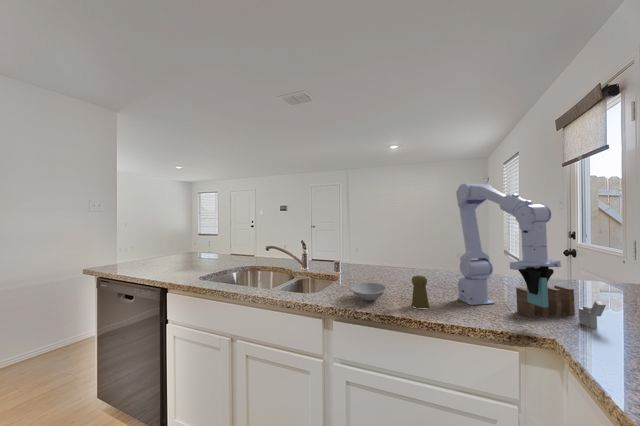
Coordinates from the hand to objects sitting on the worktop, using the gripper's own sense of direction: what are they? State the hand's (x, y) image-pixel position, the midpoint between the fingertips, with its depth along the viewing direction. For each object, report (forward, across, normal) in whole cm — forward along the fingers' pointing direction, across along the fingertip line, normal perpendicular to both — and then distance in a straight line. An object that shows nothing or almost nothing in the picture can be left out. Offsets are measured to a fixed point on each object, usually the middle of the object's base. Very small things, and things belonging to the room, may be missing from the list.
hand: (536, 293), depth 78 cm
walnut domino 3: (+9, +14, +8) cm, 18 cm away
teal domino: (+3, 0, 0) cm, 3 cm away
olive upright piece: (+10, -24, +23) cm, 35 cm away
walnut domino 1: (+9, +5, +9) cm, 14 cm away
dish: (+10, -39, +35) cm, 53 cm away
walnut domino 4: (+9, +18, +8) cm, 22 cm away
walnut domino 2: (+9, +9, +8) cm, 16 cm away
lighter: (+10, +13, -4) cm, 17 cm away
